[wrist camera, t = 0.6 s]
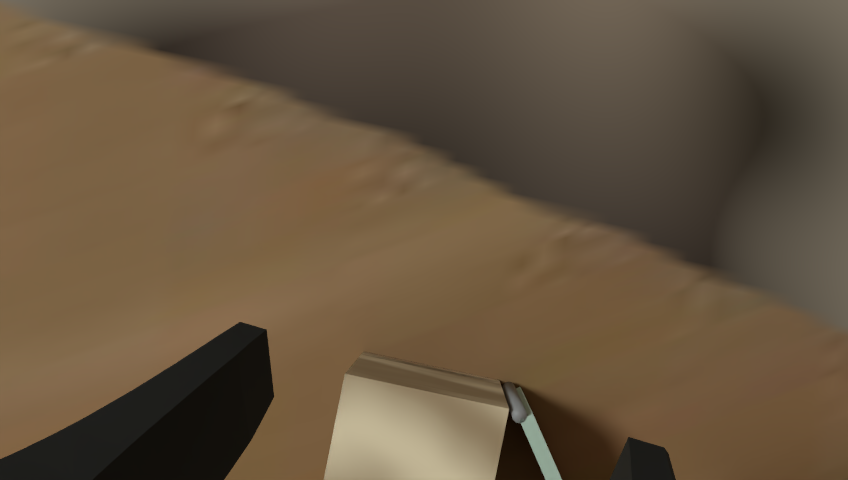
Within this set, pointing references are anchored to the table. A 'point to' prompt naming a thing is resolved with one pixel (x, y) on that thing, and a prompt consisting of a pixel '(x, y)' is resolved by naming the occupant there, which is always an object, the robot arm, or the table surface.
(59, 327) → the table surface
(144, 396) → the robot arm
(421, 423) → the cabinet
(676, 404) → the table surface
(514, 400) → the door
